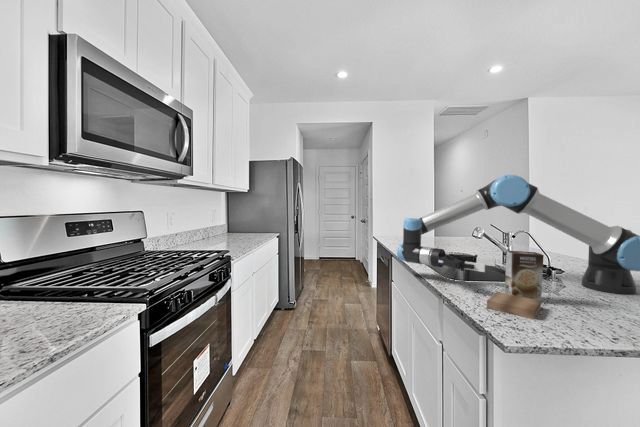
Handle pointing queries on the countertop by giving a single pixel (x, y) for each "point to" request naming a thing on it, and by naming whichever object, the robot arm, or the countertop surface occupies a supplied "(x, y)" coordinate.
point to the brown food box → (524, 274)
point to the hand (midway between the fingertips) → (490, 265)
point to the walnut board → (514, 305)
